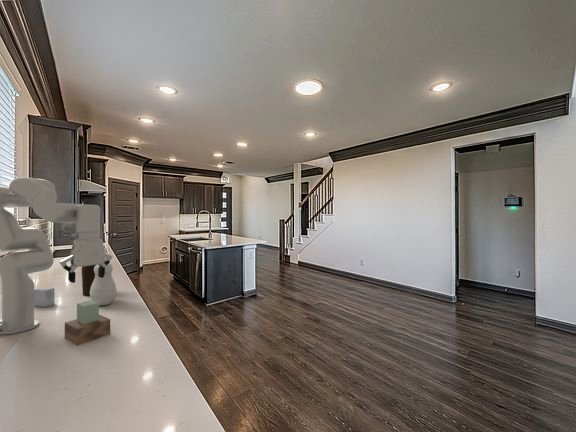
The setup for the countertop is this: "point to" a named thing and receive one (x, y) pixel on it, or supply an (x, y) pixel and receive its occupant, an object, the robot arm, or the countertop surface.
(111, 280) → the white vase
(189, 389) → the countertop surface
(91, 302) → the sage block
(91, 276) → the olive oil
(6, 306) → the robot arm
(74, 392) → the countertop surface
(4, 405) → the countertop surface
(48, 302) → the medicine box
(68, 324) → the walnut riser
